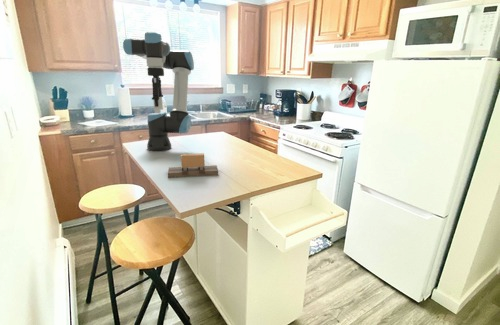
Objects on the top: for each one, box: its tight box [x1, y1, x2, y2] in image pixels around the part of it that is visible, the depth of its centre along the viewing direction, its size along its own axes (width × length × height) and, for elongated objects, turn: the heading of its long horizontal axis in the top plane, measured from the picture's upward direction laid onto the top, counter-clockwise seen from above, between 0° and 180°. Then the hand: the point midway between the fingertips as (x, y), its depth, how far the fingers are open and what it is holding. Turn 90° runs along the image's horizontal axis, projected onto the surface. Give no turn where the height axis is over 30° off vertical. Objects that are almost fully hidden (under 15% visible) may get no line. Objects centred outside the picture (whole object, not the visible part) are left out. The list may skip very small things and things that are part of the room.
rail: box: [167, 164, 219, 179], centre depth 133 cm, size 8×24×2 cm, turn 103°
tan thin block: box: [180, 152, 206, 171], centre depth 132 cm, size 3×11×10 cm, turn 103°
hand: (158, 111), depth 137 cm, fingers open, 13 cm apart
